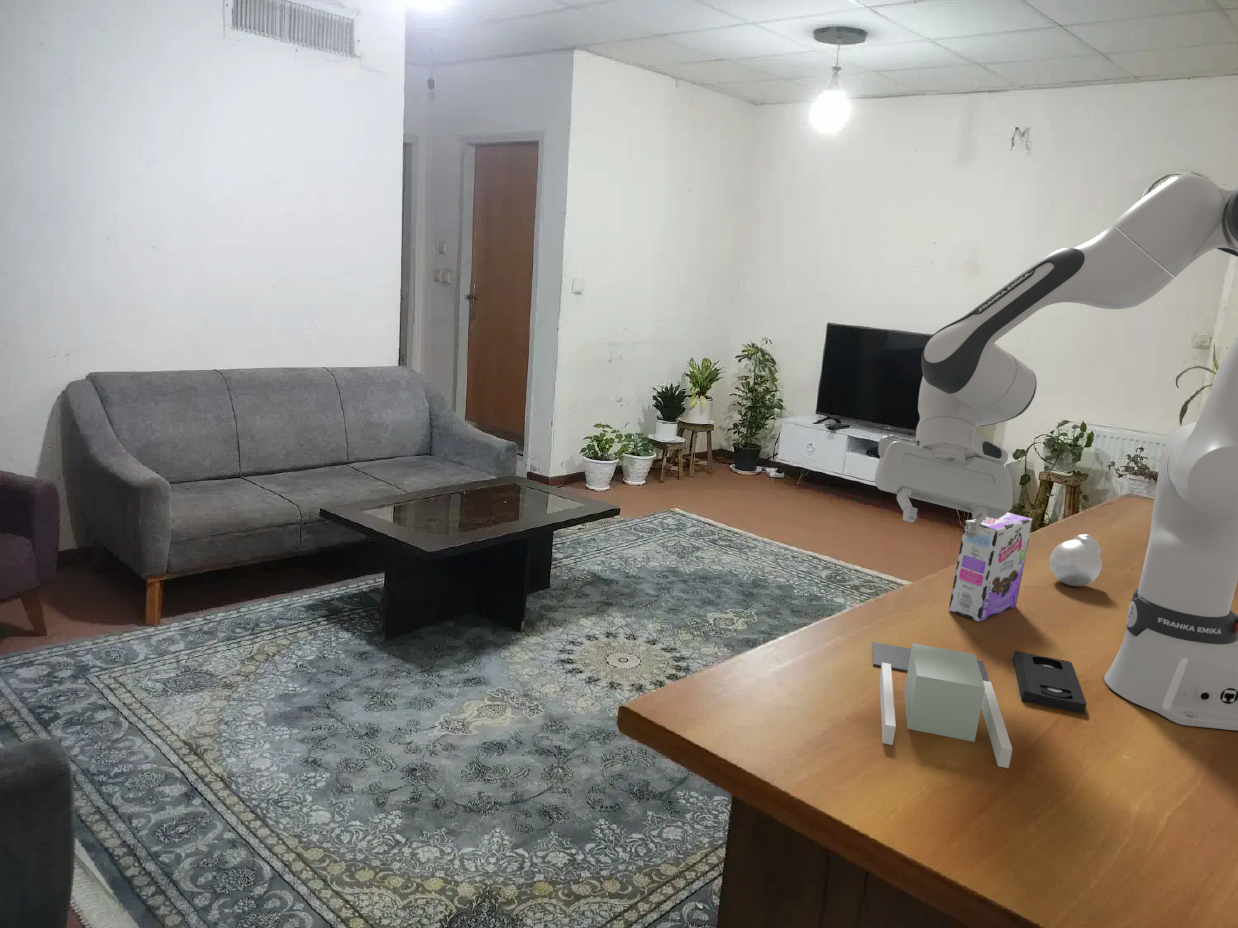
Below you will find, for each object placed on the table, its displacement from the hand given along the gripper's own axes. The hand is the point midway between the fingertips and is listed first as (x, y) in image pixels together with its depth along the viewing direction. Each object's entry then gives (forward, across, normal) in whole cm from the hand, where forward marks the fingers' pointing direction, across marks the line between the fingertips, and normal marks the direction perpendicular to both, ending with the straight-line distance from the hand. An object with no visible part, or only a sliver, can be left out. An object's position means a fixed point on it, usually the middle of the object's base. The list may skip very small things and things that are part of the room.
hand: (940, 528), depth 131 cm
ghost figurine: (-16, +42, +37) cm, 58 cm away
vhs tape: (+18, +19, +6) cm, 27 cm away
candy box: (-1, +19, +26) cm, 33 cm away
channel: (+25, +1, +1) cm, 25 cm away
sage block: (+28, 0, -2) cm, 29 cm away
